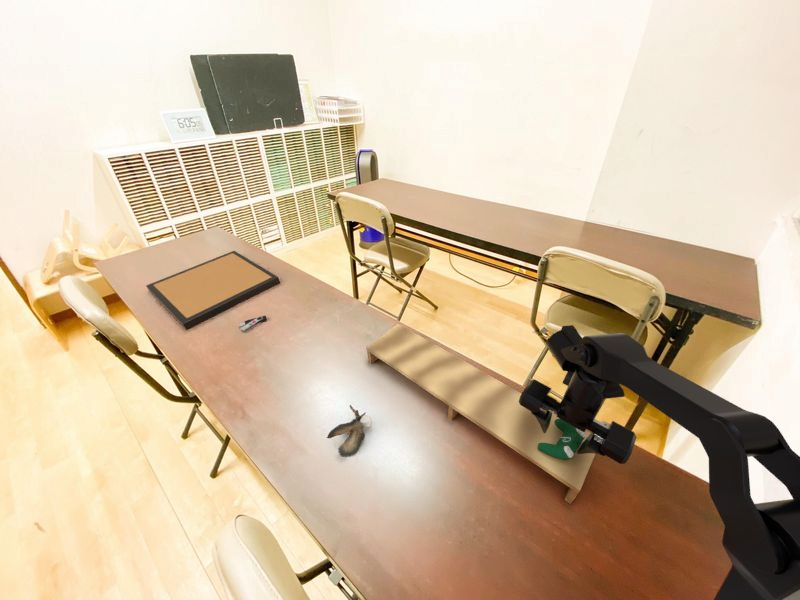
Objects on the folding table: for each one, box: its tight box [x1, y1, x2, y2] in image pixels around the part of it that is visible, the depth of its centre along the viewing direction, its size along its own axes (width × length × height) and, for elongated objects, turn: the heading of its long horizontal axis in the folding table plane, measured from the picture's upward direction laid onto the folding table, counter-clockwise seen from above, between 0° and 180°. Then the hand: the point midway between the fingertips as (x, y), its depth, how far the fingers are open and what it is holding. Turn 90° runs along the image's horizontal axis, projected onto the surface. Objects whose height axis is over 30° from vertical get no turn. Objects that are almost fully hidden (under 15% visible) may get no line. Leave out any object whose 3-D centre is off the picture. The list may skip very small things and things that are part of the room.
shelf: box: [366, 323, 596, 505], centre depth 79 cm, size 56×13×6 cm, turn 48°
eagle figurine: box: [326, 404, 373, 458], centre depth 72 cm, size 8×7×9 cm
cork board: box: [145, 250, 281, 331], centre depth 125 cm, size 36×3×35 cm
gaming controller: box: [538, 419, 585, 460], centre depth 64 cm, size 9×4×6 cm
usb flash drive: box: [238, 315, 268, 333], centre depth 106 cm, size 9×5×1 cm, turn 115°
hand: (561, 441), depth 64 cm, fingers open, 6 cm apart
